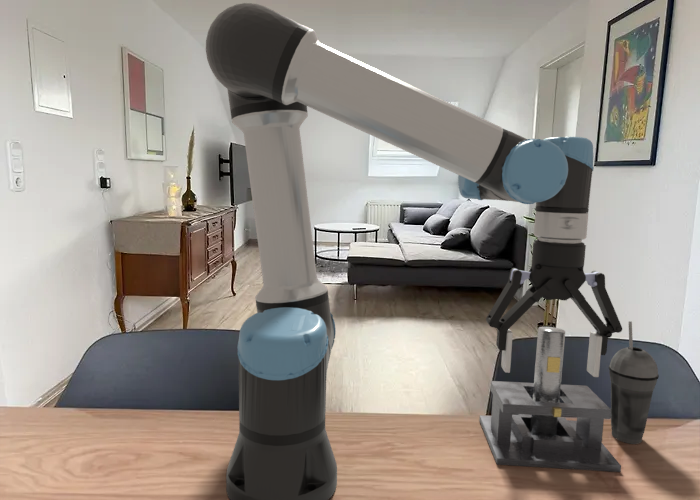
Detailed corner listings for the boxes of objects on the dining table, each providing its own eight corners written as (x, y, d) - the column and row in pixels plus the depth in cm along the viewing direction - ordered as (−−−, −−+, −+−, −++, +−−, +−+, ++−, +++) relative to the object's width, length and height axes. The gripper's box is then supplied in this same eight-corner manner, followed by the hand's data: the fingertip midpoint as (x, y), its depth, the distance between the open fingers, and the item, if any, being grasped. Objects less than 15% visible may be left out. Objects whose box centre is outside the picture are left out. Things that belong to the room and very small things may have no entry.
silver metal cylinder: (526, 431, 82) (535, 326, 80) (551, 432, 82) (560, 327, 80) (534, 443, 78) (543, 332, 76) (559, 445, 78) (569, 334, 76)
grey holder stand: (496, 464, 74) (500, 410, 73) (479, 420, 88) (482, 375, 87) (620, 472, 73) (626, 417, 71) (583, 426, 86) (587, 380, 85)
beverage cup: (659, 451, 79) (672, 330, 76) (610, 445, 80) (621, 326, 78) (641, 429, 86) (653, 318, 83) (597, 424, 87) (607, 315, 85)
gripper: (482, 239, 73) (473, 376, 76) (656, 245, 71) (641, 385, 74) (473, 235, 80) (466, 359, 83) (630, 239, 79) (618, 367, 81)
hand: (548, 371), depth 78 cm, fingers open, 13 cm apart
